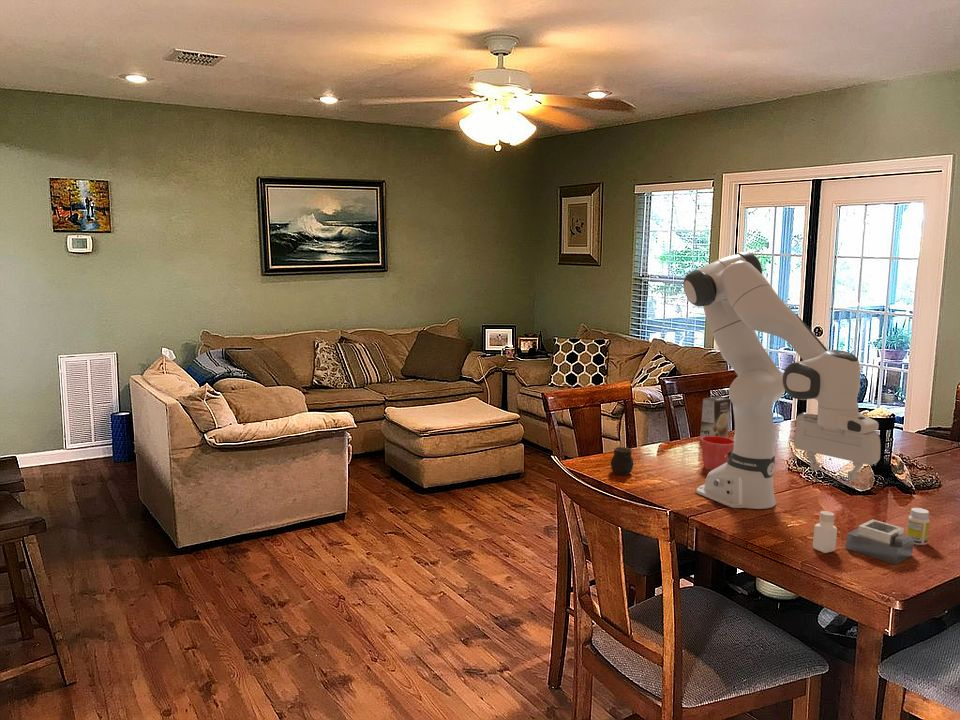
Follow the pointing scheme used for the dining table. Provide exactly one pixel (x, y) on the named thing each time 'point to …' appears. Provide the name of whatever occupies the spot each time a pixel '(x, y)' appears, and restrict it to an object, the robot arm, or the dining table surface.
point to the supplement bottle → (918, 526)
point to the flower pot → (715, 451)
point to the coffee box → (715, 417)
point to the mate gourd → (622, 461)
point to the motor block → (880, 541)
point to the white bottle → (825, 533)
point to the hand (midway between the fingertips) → (833, 474)
